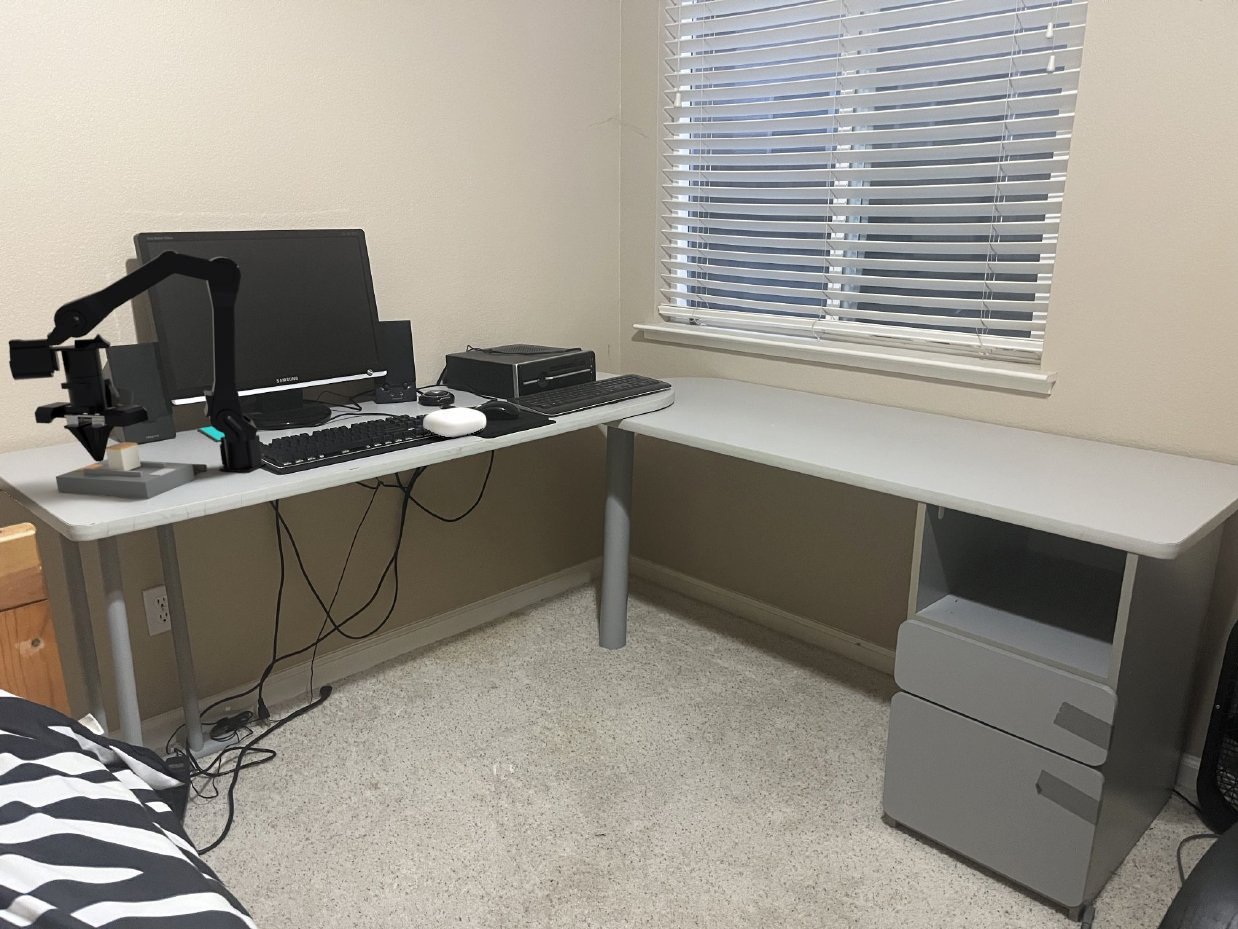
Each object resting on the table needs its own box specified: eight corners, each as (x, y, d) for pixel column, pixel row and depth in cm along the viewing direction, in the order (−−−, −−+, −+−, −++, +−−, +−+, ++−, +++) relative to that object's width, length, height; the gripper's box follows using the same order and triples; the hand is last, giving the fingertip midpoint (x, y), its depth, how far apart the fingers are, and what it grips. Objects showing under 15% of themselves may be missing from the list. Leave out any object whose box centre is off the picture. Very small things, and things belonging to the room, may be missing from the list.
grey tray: (194, 479, 160) (191, 459, 159) (147, 499, 149) (144, 477, 148) (110, 474, 164) (107, 454, 163) (58, 493, 153) (54, 472, 152)
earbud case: (418, 434, 195) (416, 411, 193) (467, 425, 203) (466, 403, 202) (443, 442, 188) (441, 418, 186) (492, 433, 196) (491, 409, 195)
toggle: (140, 465, 157) (137, 442, 156) (124, 471, 153) (120, 448, 152) (126, 465, 158) (122, 442, 157) (109, 471, 154) (105, 447, 153)
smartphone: (230, 423, 204) (251, 434, 193) (231, 426, 204) (252, 438, 193) (197, 428, 199) (216, 440, 188) (197, 431, 199) (217, 444, 188)
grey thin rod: (207, 470, 166) (206, 463, 166) (203, 472, 165) (202, 465, 165) (141, 468, 168) (140, 461, 168) (136, 470, 167) (135, 463, 166)
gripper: (163, 369, 158) (175, 452, 162) (75, 366, 162) (90, 447, 166) (117, 379, 148) (131, 468, 152) (24, 376, 151) (41, 463, 155)
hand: (99, 461), depth 156 cm, fingers closed
